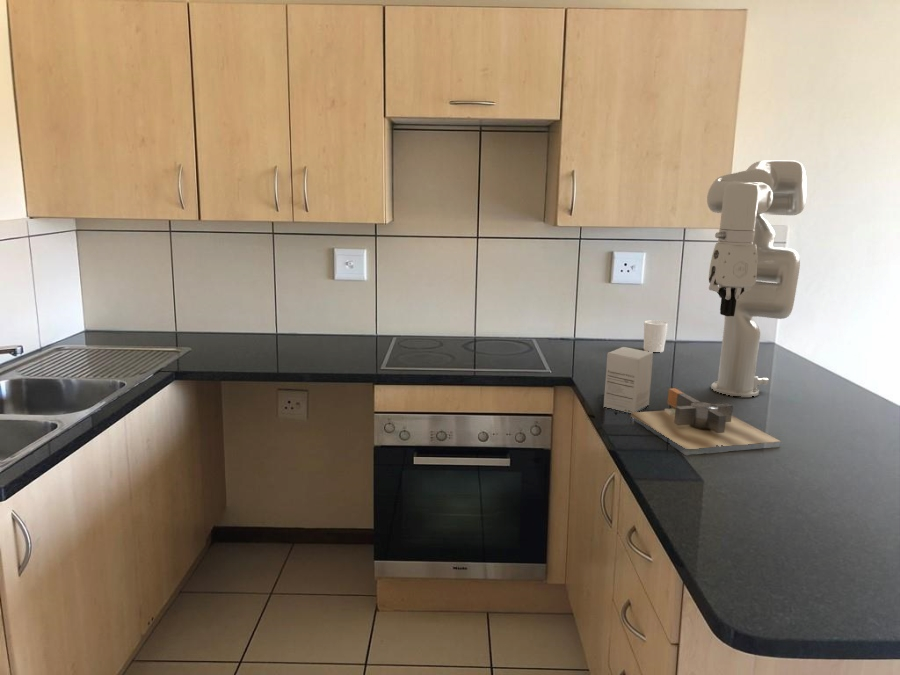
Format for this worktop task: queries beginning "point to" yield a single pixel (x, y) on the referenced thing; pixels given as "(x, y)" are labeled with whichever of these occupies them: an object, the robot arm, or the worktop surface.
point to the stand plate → (703, 432)
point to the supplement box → (628, 379)
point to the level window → (670, 411)
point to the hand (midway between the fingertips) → (727, 315)
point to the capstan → (699, 412)
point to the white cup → (654, 335)
